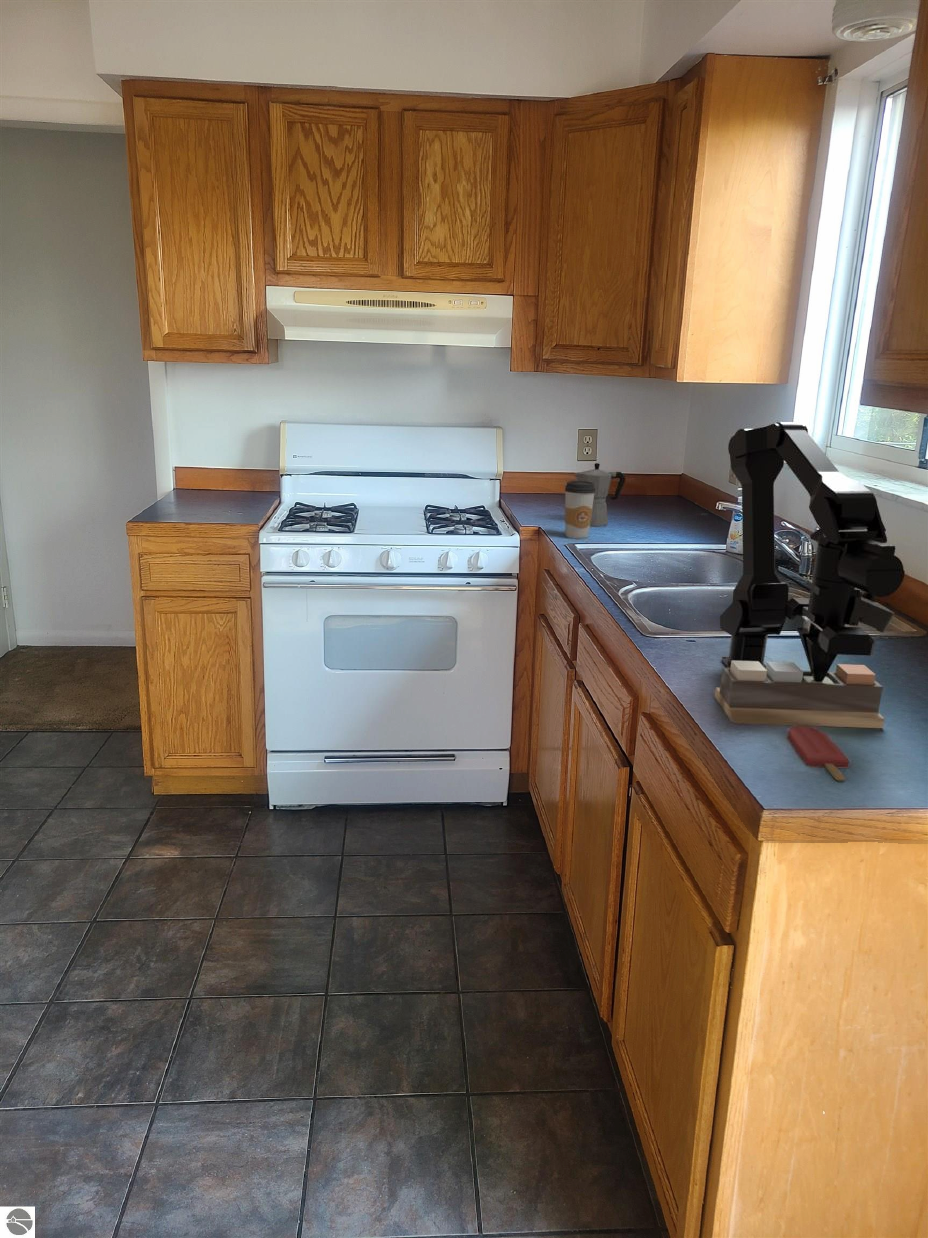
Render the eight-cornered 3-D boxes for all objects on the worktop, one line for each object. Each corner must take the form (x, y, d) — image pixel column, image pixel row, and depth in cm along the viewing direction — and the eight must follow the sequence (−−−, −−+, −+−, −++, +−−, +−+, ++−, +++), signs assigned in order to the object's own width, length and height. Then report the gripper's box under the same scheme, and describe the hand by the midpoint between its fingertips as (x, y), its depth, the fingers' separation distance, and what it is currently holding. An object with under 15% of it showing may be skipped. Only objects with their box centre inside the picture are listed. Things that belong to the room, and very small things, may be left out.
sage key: (797, 694, 135) (799, 675, 134) (823, 695, 135) (826, 676, 134) (806, 704, 131) (809, 685, 130) (834, 705, 131) (837, 686, 130)
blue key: (764, 680, 134) (766, 661, 133) (790, 681, 134) (793, 662, 133) (772, 690, 130) (775, 671, 129) (800, 691, 130) (803, 672, 129)
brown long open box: (714, 696, 138) (718, 662, 136) (854, 701, 138) (860, 667, 136) (732, 723, 128) (737, 687, 127) (882, 728, 128) (889, 692, 127)
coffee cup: (567, 540, 245) (571, 485, 241) (557, 533, 253) (560, 480, 248) (596, 539, 247) (600, 484, 242) (585, 533, 255) (589, 480, 250)
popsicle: (820, 773, 112) (782, 724, 126) (818, 784, 112) (780, 734, 126) (863, 775, 111) (820, 725, 126) (861, 786, 112) (818, 735, 126)
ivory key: (729, 679, 134) (731, 660, 133) (755, 680, 134) (758, 661, 133) (736, 689, 130) (739, 669, 129) (764, 690, 130) (766, 670, 129)
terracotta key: (833, 683, 134) (837, 664, 133) (860, 684, 134) (864, 665, 133) (844, 693, 130) (847, 673, 129) (872, 694, 130) (875, 674, 129)
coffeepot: (573, 526, 264) (578, 464, 258) (567, 520, 273) (571, 460, 267) (625, 527, 265) (630, 465, 260) (617, 521, 274) (622, 461, 269)
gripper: (923, 597, 118) (901, 707, 123) (864, 563, 136) (847, 661, 141) (838, 594, 118) (820, 705, 123) (790, 561, 136) (776, 658, 141)
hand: (817, 680), depth 132 cm, fingers closed, pressing on sage key
